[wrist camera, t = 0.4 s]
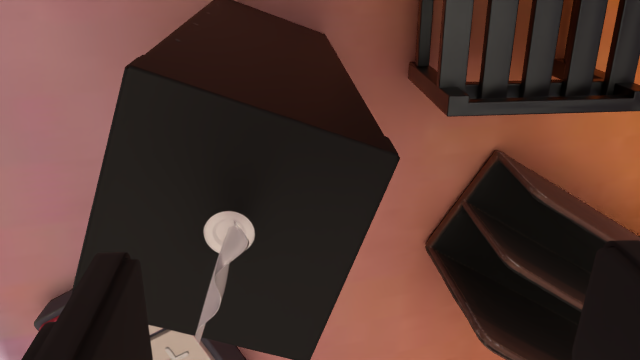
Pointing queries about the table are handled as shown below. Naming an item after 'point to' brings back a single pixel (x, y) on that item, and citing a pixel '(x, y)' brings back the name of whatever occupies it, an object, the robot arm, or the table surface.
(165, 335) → the calculator
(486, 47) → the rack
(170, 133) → the tissue box
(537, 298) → the letter holder
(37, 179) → the table surface
